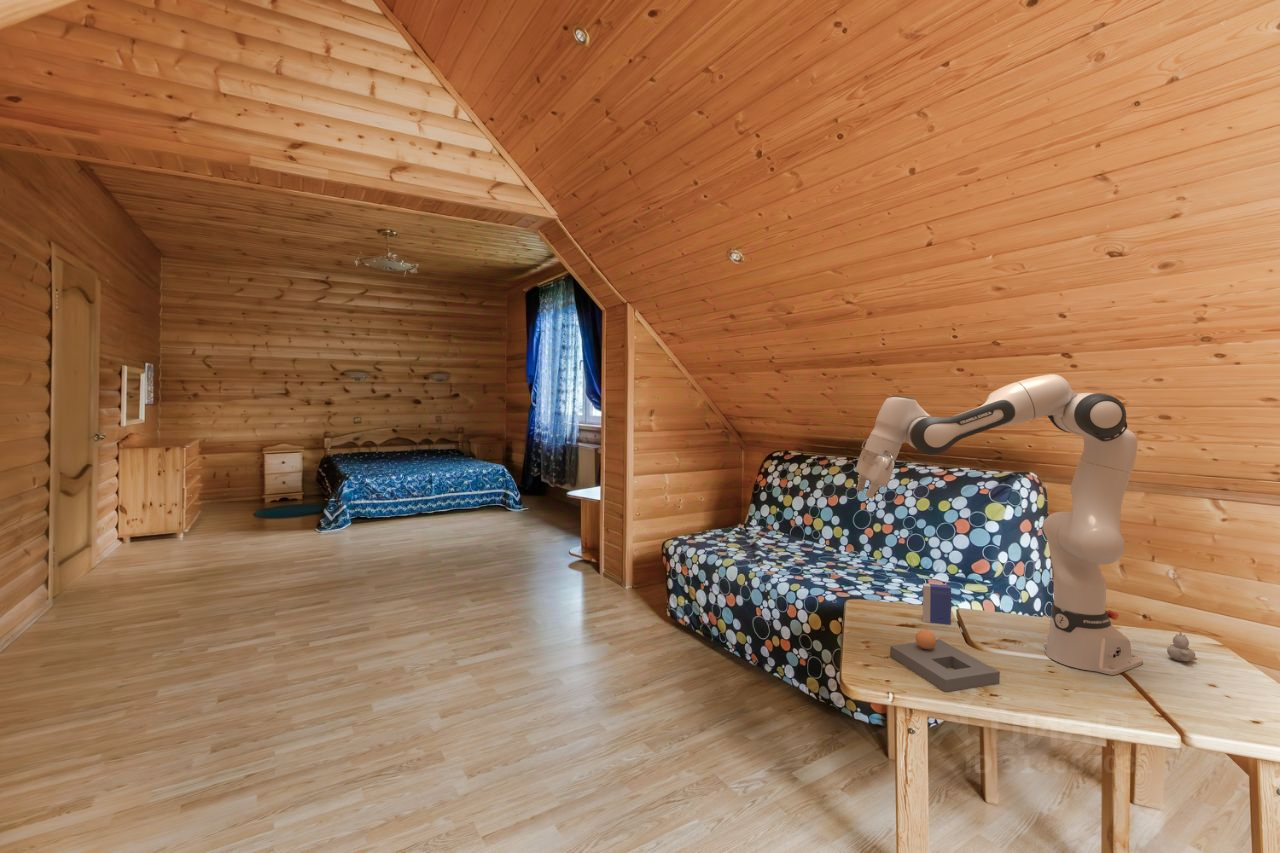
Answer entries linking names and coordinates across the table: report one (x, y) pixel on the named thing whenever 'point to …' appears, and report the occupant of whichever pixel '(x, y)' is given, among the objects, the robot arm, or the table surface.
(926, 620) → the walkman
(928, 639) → the ball
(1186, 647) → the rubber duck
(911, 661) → the pocket board
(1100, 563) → the robot arm
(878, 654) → the table surface
